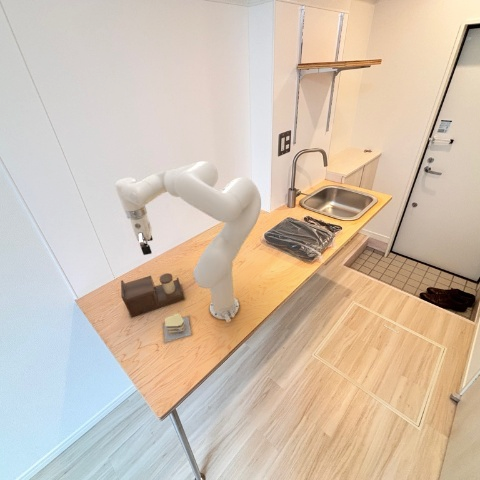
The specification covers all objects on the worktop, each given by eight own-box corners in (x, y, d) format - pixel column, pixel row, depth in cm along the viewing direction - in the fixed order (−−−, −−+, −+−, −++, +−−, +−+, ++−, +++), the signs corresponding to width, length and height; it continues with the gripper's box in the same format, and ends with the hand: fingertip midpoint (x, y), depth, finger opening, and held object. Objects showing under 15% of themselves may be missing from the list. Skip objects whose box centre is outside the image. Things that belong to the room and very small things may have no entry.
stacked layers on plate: (165, 342, 94) (161, 333, 91) (164, 323, 101) (160, 314, 98) (191, 334, 96) (188, 326, 93) (188, 316, 103) (185, 308, 100)
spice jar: (176, 291, 110) (173, 279, 105) (164, 295, 108) (160, 283, 104) (174, 283, 114) (171, 271, 110) (162, 287, 112) (158, 275, 108)
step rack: (184, 299, 111) (178, 278, 103) (131, 317, 105) (121, 296, 97) (180, 284, 119) (174, 264, 111) (130, 300, 112) (120, 280, 105)
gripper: (144, 220, 86) (157, 257, 96) (147, 199, 100) (158, 234, 110) (122, 224, 85) (137, 261, 95) (128, 203, 99) (140, 237, 109)
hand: (148, 247), depth 103 cm, fingers open, 9 cm apart
